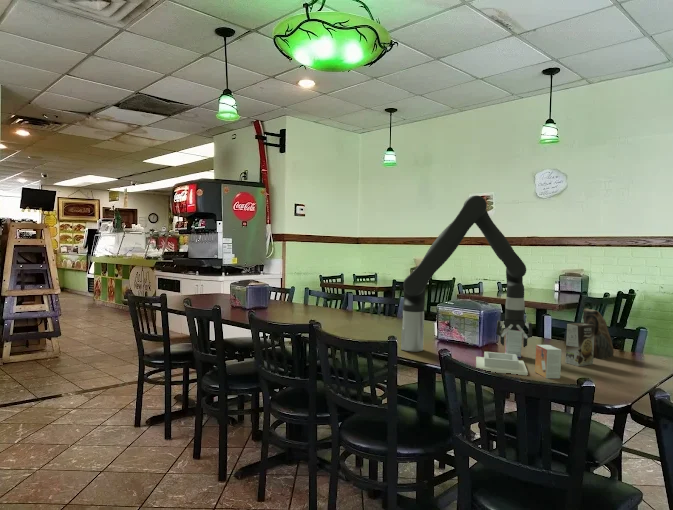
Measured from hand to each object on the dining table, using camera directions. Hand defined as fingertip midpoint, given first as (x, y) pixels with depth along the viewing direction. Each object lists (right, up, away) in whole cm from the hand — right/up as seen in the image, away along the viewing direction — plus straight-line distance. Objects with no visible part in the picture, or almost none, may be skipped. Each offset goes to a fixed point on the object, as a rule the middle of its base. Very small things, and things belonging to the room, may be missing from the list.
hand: (513, 346), depth 205 cm
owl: (+39, -5, +6) cm, 40 cm away
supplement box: (0, -5, 0) cm, 5 cm away
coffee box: (+23, -5, -10) cm, 26 cm away
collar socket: (-12, -5, -18) cm, 22 cm away
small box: (+2, -6, -29) cm, 29 cm away
